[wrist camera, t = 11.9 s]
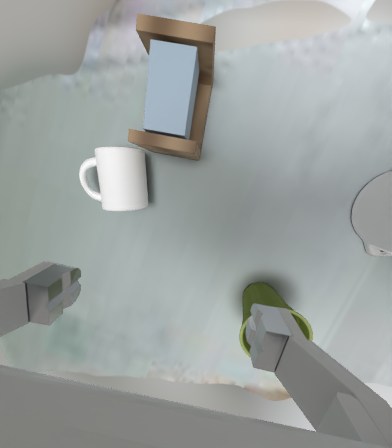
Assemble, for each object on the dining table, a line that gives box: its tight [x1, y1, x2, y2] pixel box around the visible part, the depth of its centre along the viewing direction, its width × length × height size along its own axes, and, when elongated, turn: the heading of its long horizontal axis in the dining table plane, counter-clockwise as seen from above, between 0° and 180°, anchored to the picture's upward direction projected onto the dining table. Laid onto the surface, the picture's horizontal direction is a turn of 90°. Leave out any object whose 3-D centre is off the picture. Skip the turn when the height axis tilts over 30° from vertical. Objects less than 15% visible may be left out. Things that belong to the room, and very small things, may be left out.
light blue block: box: [143, 39, 199, 140], centre depth 24 cm, size 6×10×5 cm, turn 170°
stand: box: [128, 14, 216, 160], centre depth 27 cm, size 9×14×11 cm, turn 170°
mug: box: [79, 147, 148, 211], centre depth 33 cm, size 12×10×8 cm
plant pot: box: [239, 283, 313, 357], centre depth 35 cm, size 12×12×11 cm
